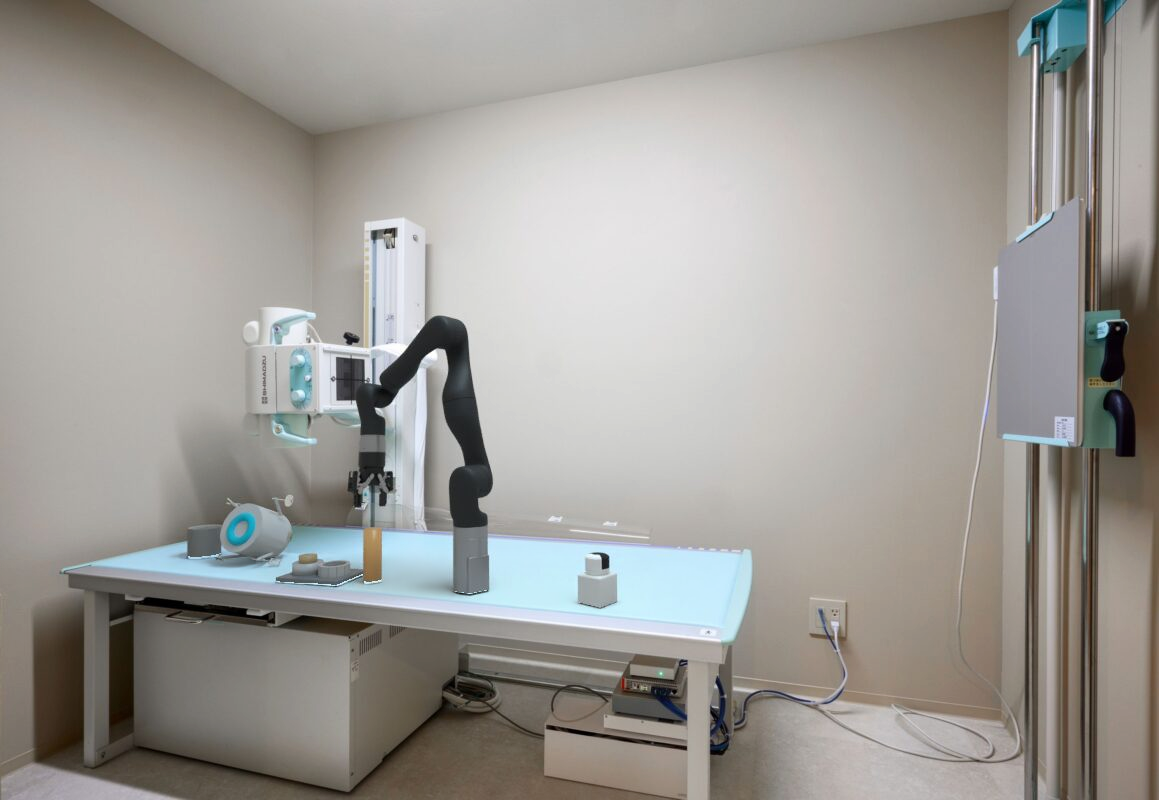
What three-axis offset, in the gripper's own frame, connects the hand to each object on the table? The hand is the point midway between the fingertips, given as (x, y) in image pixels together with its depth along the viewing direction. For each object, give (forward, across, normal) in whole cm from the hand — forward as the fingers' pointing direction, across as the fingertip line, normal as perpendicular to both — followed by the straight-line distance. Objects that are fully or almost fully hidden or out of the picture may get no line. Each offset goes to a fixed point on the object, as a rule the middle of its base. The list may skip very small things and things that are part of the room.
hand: (370, 506), depth 173 cm
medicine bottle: (+23, +15, -67) cm, 73 cm away
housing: (+20, -6, +13) cm, 25 cm away
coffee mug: (+18, -6, +76) cm, 78 cm away
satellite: (+19, -3, +53) cm, 56 cm away
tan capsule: (+21, -1, -3) cm, 21 cm away
